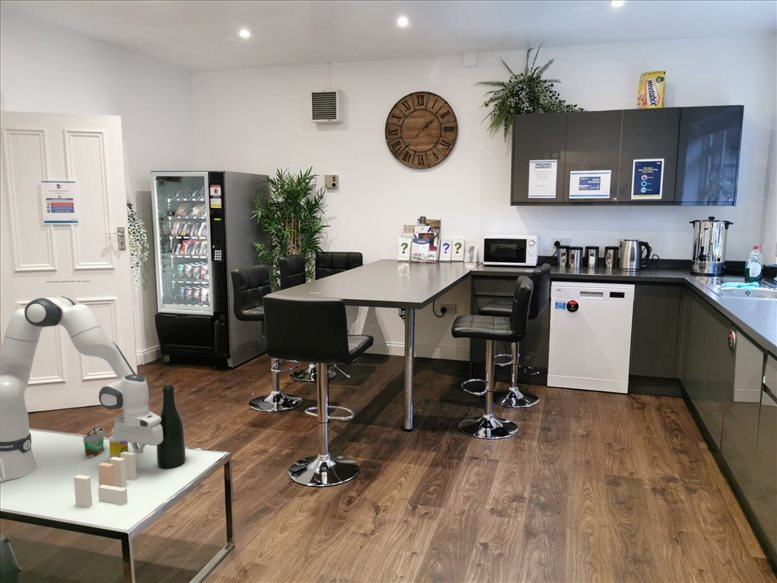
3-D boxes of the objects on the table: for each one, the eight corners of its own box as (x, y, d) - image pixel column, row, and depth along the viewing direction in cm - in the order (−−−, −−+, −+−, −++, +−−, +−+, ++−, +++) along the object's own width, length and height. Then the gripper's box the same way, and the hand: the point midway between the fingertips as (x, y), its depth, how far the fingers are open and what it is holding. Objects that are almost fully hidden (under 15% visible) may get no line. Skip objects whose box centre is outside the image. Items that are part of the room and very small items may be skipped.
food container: (101, 460, 231) (99, 436, 230) (84, 461, 230) (82, 437, 229) (110, 448, 243) (109, 425, 242) (94, 449, 242) (93, 426, 241)
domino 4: (98, 501, 199) (123, 505, 196) (98, 487, 198) (122, 491, 195) (103, 498, 201) (127, 502, 198) (102, 484, 200) (126, 488, 197)
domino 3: (110, 493, 204) (109, 466, 202) (99, 491, 205) (97, 464, 204) (115, 491, 206) (113, 464, 204) (104, 489, 207) (102, 462, 206)
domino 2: (122, 487, 209) (120, 460, 207) (111, 485, 210) (109, 458, 209) (126, 484, 210) (124, 458, 209) (115, 482, 212) (113, 456, 211)
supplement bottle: (121, 464, 228) (119, 433, 226) (106, 462, 229) (104, 431, 227) (132, 457, 234) (130, 426, 232) (117, 456, 235) (116, 425, 234)
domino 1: (87, 507, 194) (85, 479, 193) (75, 505, 195) (73, 477, 194) (92, 504, 196) (90, 476, 194) (80, 502, 197) (78, 474, 196)
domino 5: (132, 481, 213) (131, 455, 212) (121, 479, 215) (120, 453, 214) (136, 478, 215) (135, 453, 214) (125, 476, 217) (124, 451, 216)
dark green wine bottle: (176, 472, 221) (173, 388, 216) (151, 470, 223) (147, 386, 218) (191, 461, 231) (187, 380, 227) (166, 459, 233) (163, 379, 229)
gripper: (108, 417, 218) (110, 452, 220) (153, 423, 212) (155, 459, 213) (120, 412, 224) (122, 446, 226) (164, 418, 218) (166, 453, 219)
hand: (138, 453), depth 219 cm, fingers closed
